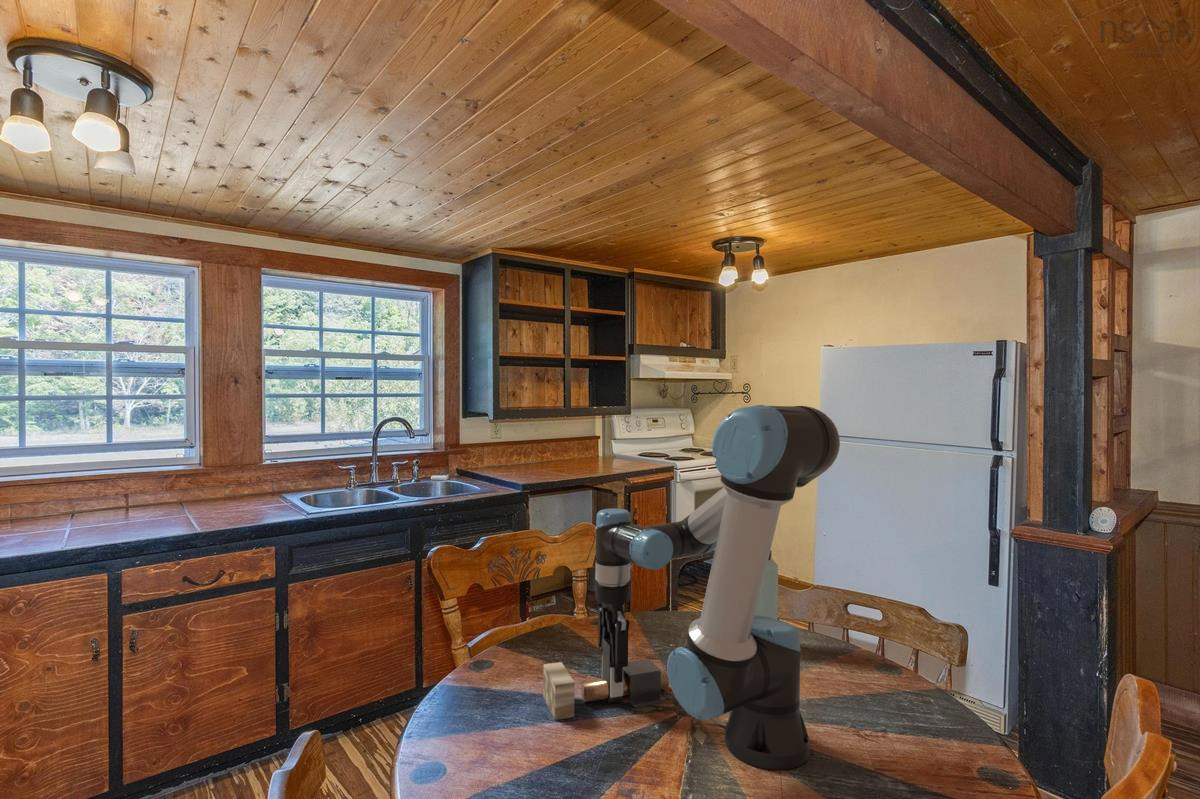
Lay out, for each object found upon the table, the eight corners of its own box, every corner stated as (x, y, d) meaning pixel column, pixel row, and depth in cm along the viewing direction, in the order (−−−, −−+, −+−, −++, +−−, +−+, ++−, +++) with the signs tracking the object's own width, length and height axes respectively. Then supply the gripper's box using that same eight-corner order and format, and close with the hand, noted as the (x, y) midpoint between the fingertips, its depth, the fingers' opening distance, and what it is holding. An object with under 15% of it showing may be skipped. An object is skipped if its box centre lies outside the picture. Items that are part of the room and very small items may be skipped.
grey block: (665, 702, 127) (665, 675, 127) (634, 707, 125) (635, 680, 125) (644, 679, 137) (645, 654, 138) (616, 684, 135) (616, 658, 135)
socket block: (574, 716, 121) (574, 682, 121) (555, 720, 120) (555, 685, 120) (561, 694, 130) (561, 661, 131) (543, 696, 129) (543, 664, 129)
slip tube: (669, 692, 131) (669, 637, 131) (586, 706, 125) (587, 648, 125) (660, 683, 135) (661, 630, 135) (580, 696, 129) (580, 640, 129)
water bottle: (783, 654, 152) (783, 555, 152) (743, 653, 152) (744, 555, 152) (772, 638, 162) (772, 546, 162) (735, 638, 162) (735, 545, 162)
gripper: (645, 592, 122) (644, 707, 122) (615, 569, 139) (614, 670, 139) (610, 595, 120) (609, 713, 119) (584, 572, 136) (583, 674, 136)
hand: (612, 689), depth 129 cm, fingers closed on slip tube, 5 cm apart
